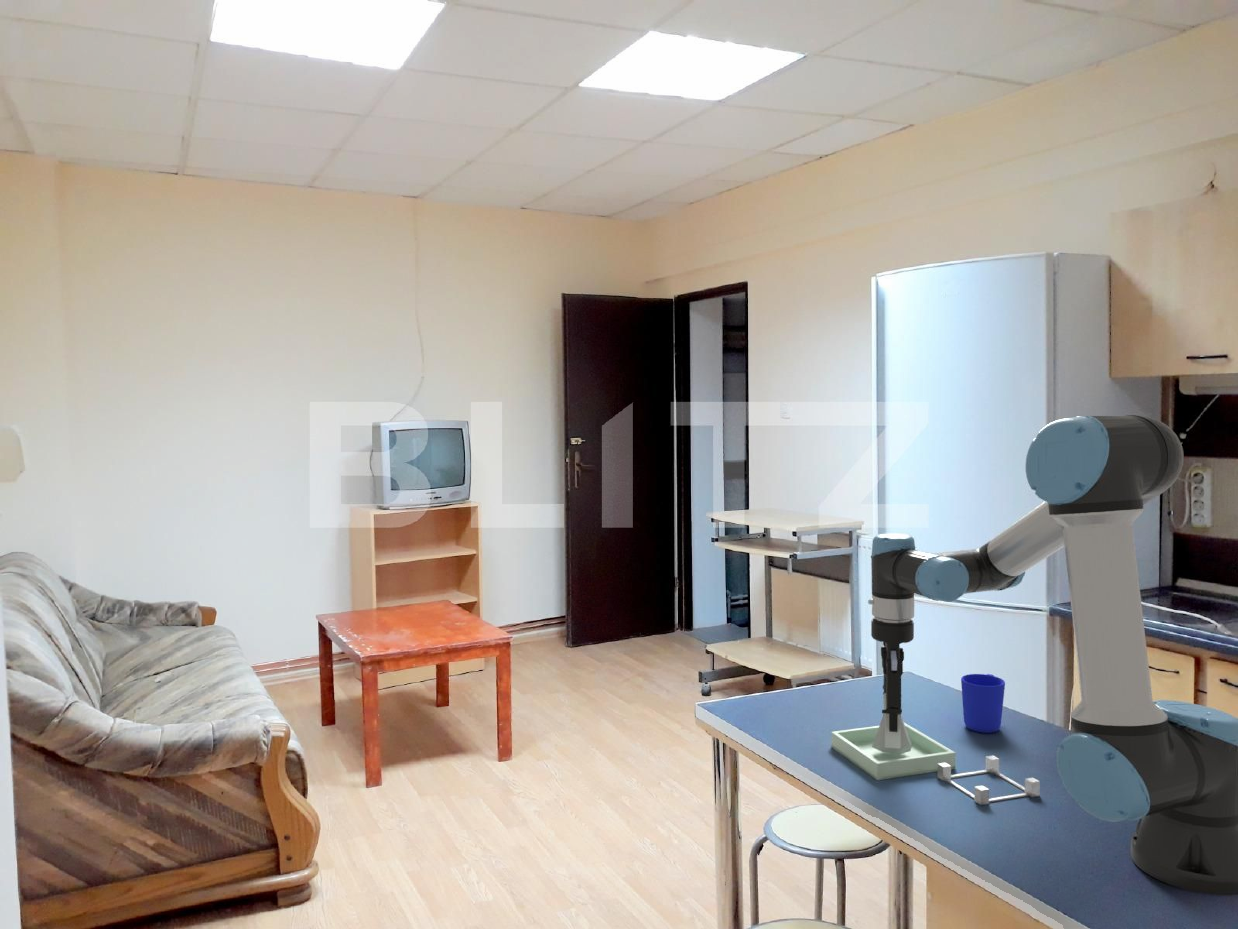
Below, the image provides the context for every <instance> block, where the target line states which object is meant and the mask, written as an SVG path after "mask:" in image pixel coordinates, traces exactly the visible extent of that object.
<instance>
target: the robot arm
mask: <svg viewBox="0 0 1238 929" xmlns="http://www.w3.org/2000/svg"><path fill="white" fill-rule="evenodd" d="M1184 462H1185V461H1184V448H1183V446H1182V443H1181V441H1180V439H1179V437H1178V435H1177V434H1176V432H1174V431H1173V429H1172V428H1170V427H1169V425H1167V424H1166V423H1164V422H1162V421H1160V420H1158V419H1157V418H1153V417H1150V416H1148V415H1147V416H1146V415H1140V414H1139V415H1138V414H1129V415H1084V416H1083V415H1082V416H1079V415H1077V416H1074V417H1067V418H1066V417H1065V418H1061V419H1057V420H1054V421H1052V422H1050V423H1047V425H1045V426H1044V427H1042V428H1041V429H1040V430H1039V432H1038V433H1037V435H1036V437H1035V438H1034V439H1032V441H1031V443H1030V445H1029V447H1028V450H1027V453H1026V458H1025V475H1026V479H1027V483H1028V485H1029V487H1030V489H1031V490H1033V491H1035V493H1034V494H1035V495H1036V496H1037V497H1038V498H1039V499H1040V500H1042V501H1043V502H1042V503H1041V504H1039V505H1037V506H1036V507H1035V508H1033V509H1032V510H1030V511H1029V512H1028V513H1026V514H1025V515H1024V516H1022V517H1021V518H1020V519H1018V520H1017V521H1015V522H1014V523H1013V524H1011V525H1010V526H1008V527H1007V528H1005V529H1004V530H1003V531H1002V532H1000V533H999V534H997V535H996V536H994V537H993V538H992V539H990V540H989V541H988V542H986V543H984V544H983V545H982V546H980V547H978V548H972V549H965V550H956V551H944V552H935V553H934V552H931V553H930V552H926V551H925V552H924V551H920V550H918V549H917V547H916V545H915V544H916V543H915V539H914V537H913V536H912V535H910V534H906V533H880V534H877V535H875V536H874V537H873V539H872V544H871V555H870V559H871V560H870V561H871V563H870V564H871V599H870V598H869V599H868V600H867V603H868V605H870V606H871V615H872V616H873V617H872V618H871V620H870V621H871V622H870V623H871V624H870V625H871V629H870V633H871V634H870V635H871V638H872V639H873V640H875V641H876V642H881V643H882V645H883V646H880V656H881V658H880V659H881V668H882V673H883V681H882V682H883V685H882V689H883V693H882V695H884V694H885V693H886V709H885V710H884V708H885V699H884V698H883V697H882V698H883V700H882V702H883V703H882V709H881V714H883V713H885V748H898V749H901V716H902V713H903V709H902V675H903V674H904V672H903V671H904V666H903V665H904V664H903V661H905V651H904V648H903V647H900V645H901V644H907V643H910V642H912V641H913V640H914V637H915V636H914V634H915V625H914V624H915V622H914V620H913V618H914V617H915V595H919V596H922V597H924V598H927V599H929V600H932V601H935V602H939V601H940V602H944V603H950V602H951V603H952V602H955V601H957V600H958V599H960V597H962V596H964V595H965V594H972V593H973V594H974V593H981V592H982V593H983V592H992V591H997V592H998V591H1004V590H1006V589H1010V588H1015V587H1017V586H1018V585H1020V584H1021V583H1022V582H1023V578H1024V577H1025V575H1026V571H1028V570H1030V569H1031V568H1033V567H1034V566H1036V565H1038V564H1039V563H1041V562H1042V561H1044V560H1045V559H1047V558H1048V557H1050V556H1052V555H1053V554H1055V553H1056V552H1058V551H1059V550H1061V549H1063V548H1064V551H1065V552H1064V553H1065V561H1066V571H1067V581H1068V590H1069V597H1070V598H1069V599H1070V607H1071V616H1072V625H1073V634H1074V635H1073V636H1074V645H1075V653H1076V663H1077V672H1078V673H1077V674H1078V680H1079V690H1080V698H1081V699H1080V702H1079V703H1078V704H1077V705H1076V706H1075V707H1074V708H1073V709H1072V710H1071V712H1070V720H1071V729H1072V734H1070V735H1067V736H1066V737H1065V738H1063V740H1062V742H1061V744H1060V745H1058V748H1057V751H1056V766H1057V771H1058V773H1059V774H1058V775H1059V777H1060V780H1061V783H1062V784H1063V786H1064V788H1065V790H1066V791H1067V793H1068V794H1069V795H1070V797H1072V798H1073V799H1074V800H1075V802H1076V804H1077V805H1078V806H1080V808H1082V809H1083V810H1084V811H1086V812H1087V813H1088V814H1090V815H1091V816H1092V817H1095V818H1097V819H1099V820H1102V821H1106V822H1112V823H1114V822H1115V823H1117V822H1119V823H1120V822H1124V821H1138V823H1137V825H1136V827H1135V831H1134V832H1133V833H1132V835H1131V836H1132V837H1131V839H1130V857H1131V860H1132V862H1133V863H1134V864H1135V866H1137V868H1139V869H1140V870H1142V871H1143V872H1144V873H1146V874H1148V875H1149V876H1151V877H1152V878H1154V879H1157V881H1160V882H1163V883H1165V884H1167V885H1170V886H1173V887H1176V888H1179V889H1182V890H1185V891H1186V890H1187V891H1191V892H1194V893H1199V894H1205V895H1216V896H1236V895H1238V718H1237V717H1235V716H1234V715H1232V714H1230V713H1227V712H1225V711H1222V710H1219V709H1216V708H1213V707H1210V706H1206V705H1205V706H1204V705H1201V704H1195V703H1192V702H1188V701H1187V702H1186V701H1179V700H1173V699H1171V700H1169V699H1157V700H1153V692H1152V686H1151V676H1150V667H1149V657H1148V649H1147V641H1146V633H1145V632H1146V631H1145V621H1144V612H1143V606H1142V605H1143V604H1142V596H1141V588H1140V578H1139V571H1138V563H1137V553H1136V552H1137V551H1136V544H1135V536H1134V527H1133V526H1134V523H1135V521H1136V520H1137V518H1139V516H1140V515H1142V513H1143V512H1144V510H1145V509H1144V505H1145V504H1147V503H1149V502H1150V501H1152V500H1153V499H1156V498H1157V497H1158V496H1160V495H1162V494H1163V493H1164V492H1166V491H1167V490H1169V489H1170V488H1171V487H1172V486H1173V485H1174V483H1175V482H1176V481H1177V479H1178V478H1179V476H1180V474H1181V472H1182V470H1183V467H1184ZM916 549H917V550H916Z"/></svg>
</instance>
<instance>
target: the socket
mask: <svg viewBox="0 0 1238 929" xmlns="http://www.w3.org/2000/svg"><path fill="white" fill-rule="evenodd" d="M984 767H985V769H982V770H975V771H970V772H962V773H956V774H952V769H951V766H950V765H949V764H947V763H938V768H937V778H938V779H939V780H941V781H942V782H947V783H948V784H950V785H952V787H955V788H956V789H958V790H959V791H961V792H962V793H964V794H966V795H967V796H969V797H970V798H971V799H973V800H974V802H975V803H976V804H978V805H979V806H985V805H989V804H990V803H993V802H1000V801H1006V800H1012V799H1018V798H1025V797H1031V798H1034V797H1035V798H1036V797H1039V796H1040V788H1041V787H1040V786H1041V783H1040V780H1038V779H1036V778H1034V777H1027V778H1024V786H1023V785H1021V784H1020V783H1018V782H1016V781H1015V780H1013V779H1011V778H1009V777H1007V776H1006V775H1004V774H1002V773H1001V772H1000V758H998V757H997V756H995V755H989V756H988V755H987V756H985V766H984ZM989 773H990V774H992V775H993V774H994V775H996V776H997V777H999V778H1001V779H1003V780H1004V781H1006V782H1008V783H1010V784H1012V785H1013V786H1015V787H1016V788H1019V790H1022V791H1023V793H1017V794H1016V793H1015V794H1011V795H1010V794H1009V795H1004V796H999V797H998V796H997V797H991V798H990V789H989V788H987V786H984V785H976V786H974V791H973V792H974V794H973V793H972V792H970V791H969V790H968V789H966V788H964V787H962V786H961V785H959V784H958V783H956V782H955V781H953V780H952V779H955V778H956V779H957V778H961V777H962V778H963V777H968V776H974V775H975V776H977V775H982V774H989Z"/></svg>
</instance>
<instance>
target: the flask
mask: <svg viewBox="0 0 1238 929" xmlns="http://www.w3.org/2000/svg"><path fill="white" fill-rule="evenodd" d="M882 695H883V694H882ZM882 698H884V699H885V708H884V710H885V709H886V693H885V694H884V695H883V696H882ZM904 723H905V722H904V720H903V716H902V715H901V749H898V748H885V713H882V718H881V721H880V723H879V725H878V726H879V729H878V731H877V734H876V736H875V739H874V742H873V745H872V748H875V749H877V750H879V751H882V752H885V753H893V754H902V753H906V752H909V751H911V747H912V744H911V741H910V738H909V736H908V733H907V731H906V728H905V725H904Z"/></svg>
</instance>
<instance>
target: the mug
mask: <svg viewBox="0 0 1238 929" xmlns="http://www.w3.org/2000/svg"><path fill="white" fill-rule="evenodd" d="M960 678H961V679H960V682H961V684H960V685H961V696H962V698H961V699H962V712H963V714H962V715H963V722H964V725H965V727H967V729H969V730H972V731H974V732H978V733H983V734H984V733H985V734H987V733H988V734H990V733H991V734H992V733H996V732H998V731H999V730H1000V728H1001V725H1002V719H1003V718H1002V716H1003V707H1004V700H1005V698H1004V697H1005V690H1006V689H1005V686H1006V681H1005V680H1004V679H1002V678H1001V677H998V676H996V675H995V676H994V674H990V673H987V674H986V673H985V674H983V673H970V674H966V675H965V674H964V675H963V676H961V677H960Z"/></svg>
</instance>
